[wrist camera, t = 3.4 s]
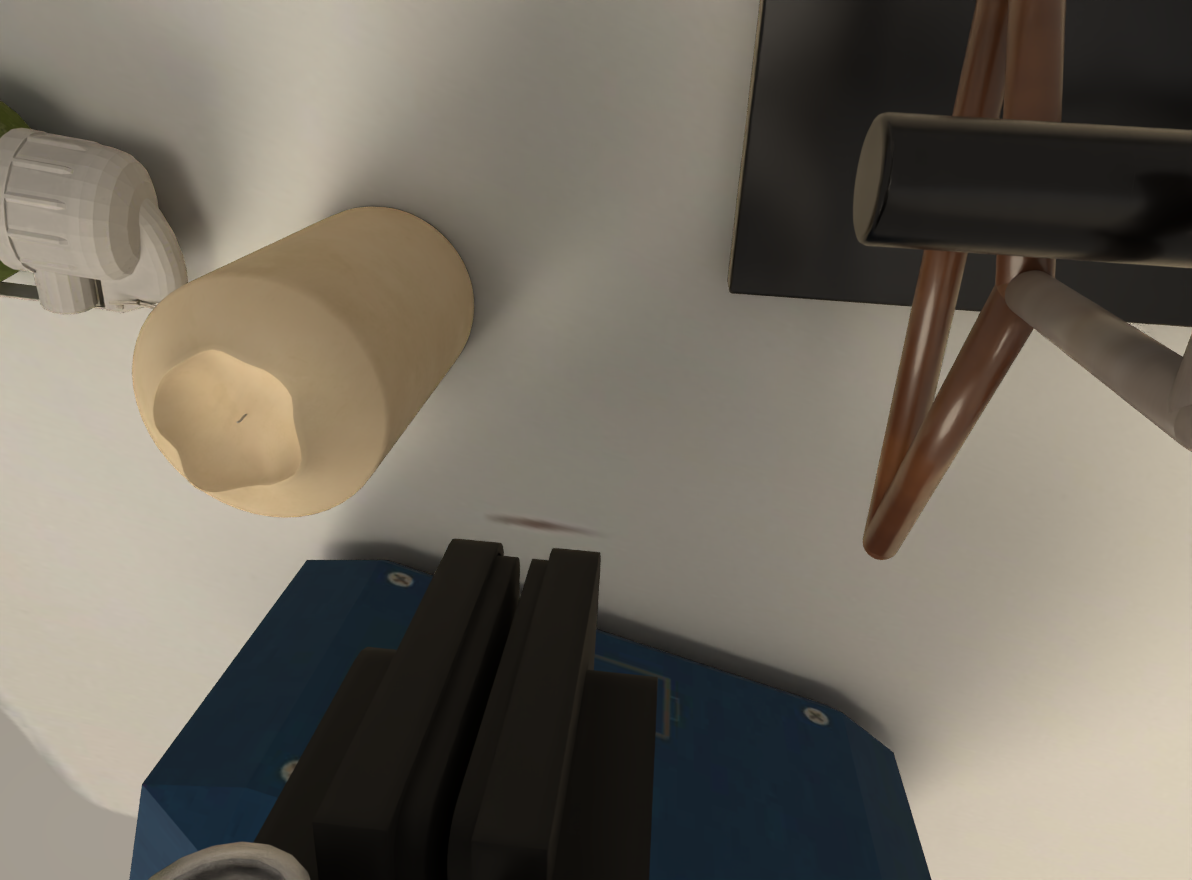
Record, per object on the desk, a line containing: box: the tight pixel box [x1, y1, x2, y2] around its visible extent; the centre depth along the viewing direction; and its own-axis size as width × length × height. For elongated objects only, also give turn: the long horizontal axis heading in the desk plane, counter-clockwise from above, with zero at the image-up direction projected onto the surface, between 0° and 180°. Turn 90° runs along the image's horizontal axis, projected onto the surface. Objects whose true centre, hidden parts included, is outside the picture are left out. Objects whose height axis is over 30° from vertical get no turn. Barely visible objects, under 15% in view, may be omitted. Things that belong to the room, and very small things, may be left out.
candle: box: [132, 207, 474, 517], centre depth 21 cm, size 6×6×10 cm
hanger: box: [863, 0, 1192, 560], centre depth 11 cm, size 13×1×9 cm, turn 177°
